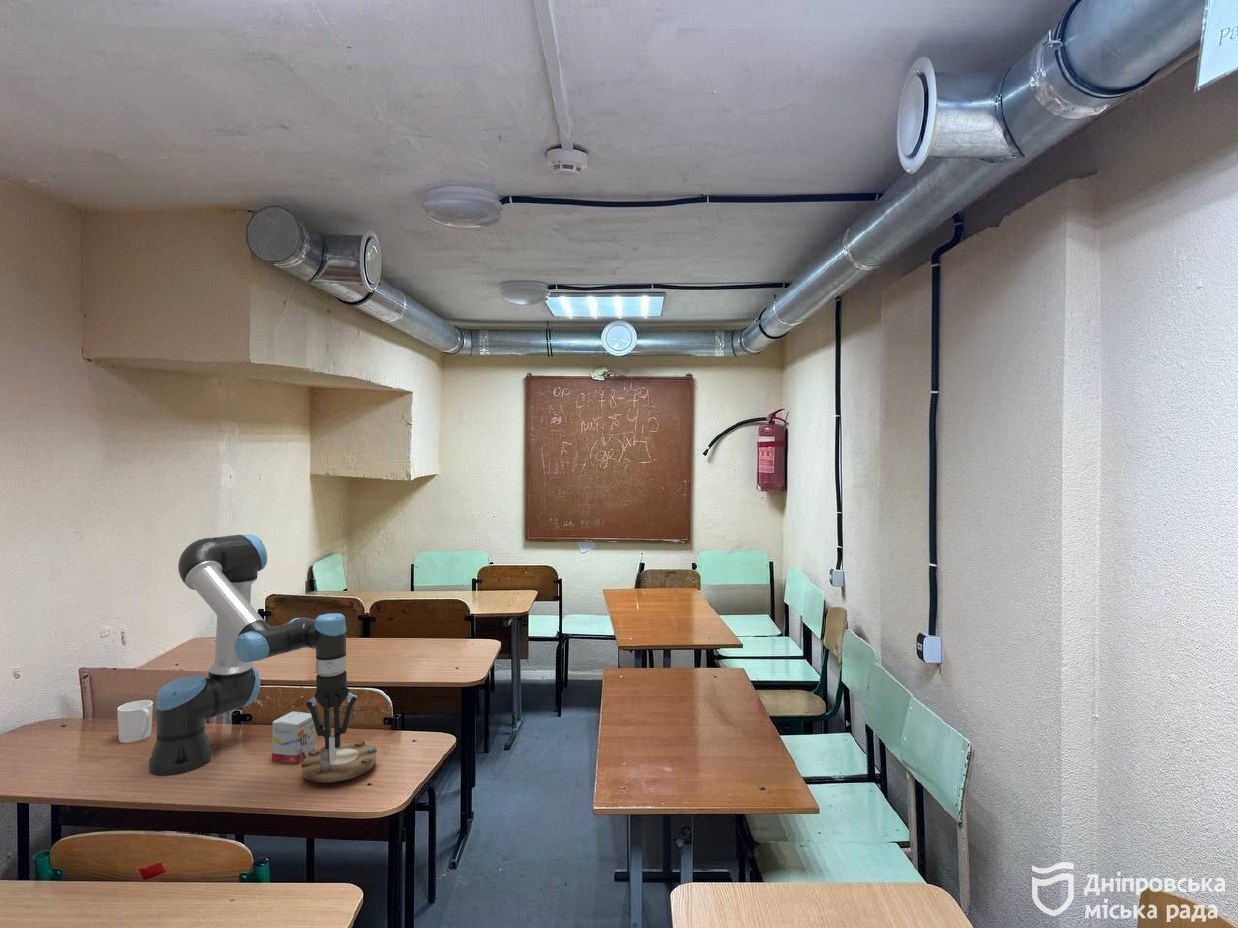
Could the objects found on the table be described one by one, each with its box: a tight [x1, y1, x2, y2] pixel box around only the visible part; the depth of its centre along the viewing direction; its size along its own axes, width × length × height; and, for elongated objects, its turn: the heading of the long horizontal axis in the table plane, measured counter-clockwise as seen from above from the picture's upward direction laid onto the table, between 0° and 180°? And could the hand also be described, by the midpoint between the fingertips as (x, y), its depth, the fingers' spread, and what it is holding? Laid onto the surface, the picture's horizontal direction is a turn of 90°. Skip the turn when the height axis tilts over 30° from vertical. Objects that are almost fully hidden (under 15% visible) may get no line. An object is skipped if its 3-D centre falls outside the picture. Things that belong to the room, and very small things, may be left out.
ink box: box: [271, 711, 316, 765], centre depth 190 cm, size 9×9×12 cm
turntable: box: [300, 740, 378, 783], centre depth 181 cm, size 19×19×8 cm
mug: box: [116, 699, 154, 745], centre depth 201 cm, size 11×9×10 cm
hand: (333, 759), depth 174 cm, fingers closed
